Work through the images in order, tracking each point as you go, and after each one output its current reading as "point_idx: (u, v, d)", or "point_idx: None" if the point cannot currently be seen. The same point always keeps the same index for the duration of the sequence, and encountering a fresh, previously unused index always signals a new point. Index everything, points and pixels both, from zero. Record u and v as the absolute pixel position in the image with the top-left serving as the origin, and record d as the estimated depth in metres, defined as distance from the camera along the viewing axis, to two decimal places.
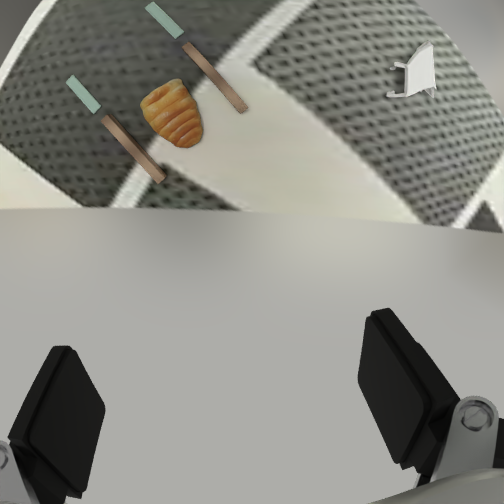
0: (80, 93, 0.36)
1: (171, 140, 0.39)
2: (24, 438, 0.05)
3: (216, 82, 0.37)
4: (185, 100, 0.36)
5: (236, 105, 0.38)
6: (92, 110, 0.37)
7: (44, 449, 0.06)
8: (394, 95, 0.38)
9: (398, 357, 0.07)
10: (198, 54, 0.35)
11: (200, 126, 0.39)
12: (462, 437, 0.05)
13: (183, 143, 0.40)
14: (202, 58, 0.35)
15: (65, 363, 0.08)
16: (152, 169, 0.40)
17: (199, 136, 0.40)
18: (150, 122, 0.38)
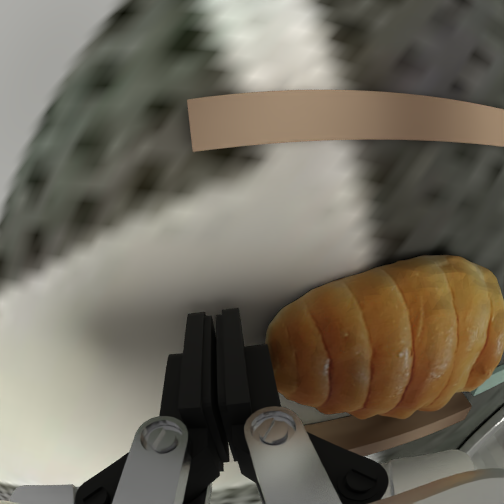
0: None
1: (345, 323, 0.09)
2: (201, 404, 0.06)
3: (359, 449, 0.12)
4: None
5: None
6: None
7: (213, 415, 0.07)
8: None
9: (218, 355, 0.08)
10: (434, 430, 0.13)
11: None
12: (270, 456, 0.05)
13: (304, 354, 0.09)
14: (421, 435, 0.13)
15: (210, 327, 0.09)
16: (282, 122, 0.07)
17: (283, 394, 0.11)
18: (448, 283, 0.09)
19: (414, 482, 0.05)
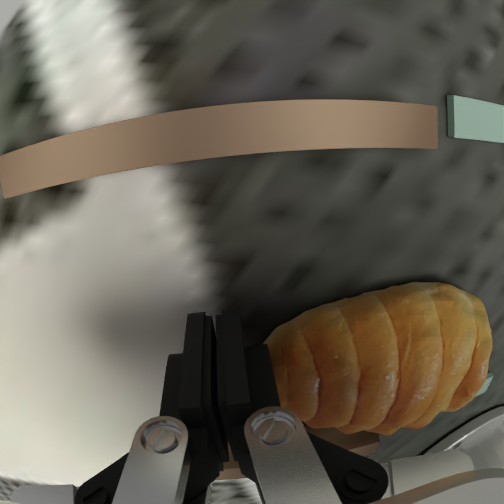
0: None
1: (336, 346, 0.10)
2: (200, 404, 0.06)
3: (239, 470, 0.12)
4: None
5: None
6: (462, 102, 0.08)
7: (213, 415, 0.07)
8: None
9: (218, 355, 0.08)
10: None
11: None
12: (270, 456, 0.05)
13: (295, 373, 0.10)
14: None
15: (210, 327, 0.09)
16: (56, 166, 0.07)
17: None
18: (436, 311, 0.10)
19: (414, 481, 0.05)
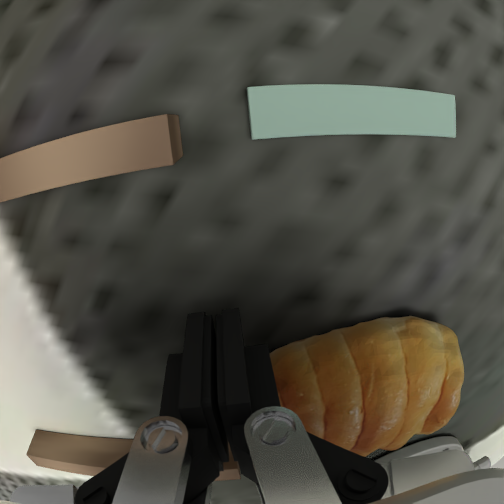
0: (377, 103, 0.08)
1: (301, 385, 0.10)
2: (200, 404, 0.06)
3: None
4: None
5: (43, 460, 0.12)
6: (263, 93, 0.08)
7: (213, 415, 0.07)
8: None
9: (218, 355, 0.08)
10: None
11: None
12: (270, 456, 0.05)
13: None
14: None
15: (210, 328, 0.09)
16: None
17: None
18: (402, 349, 0.10)
19: (414, 481, 0.05)
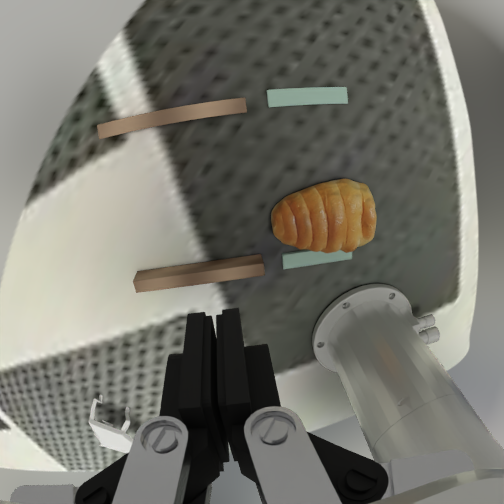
0: (312, 93, 0.25)
1: (297, 202, 0.27)
2: (200, 404, 0.06)
3: (187, 276, 0.29)
4: (338, 249, 0.28)
5: (145, 282, 0.28)
6: (272, 92, 0.24)
7: (213, 415, 0.07)
8: (93, 408, 0.34)
9: (218, 355, 0.08)
10: (239, 276, 0.29)
11: (292, 245, 0.29)
12: (270, 456, 0.05)
13: (285, 215, 0.27)
14: (230, 277, 0.29)
15: (210, 327, 0.09)
16: (121, 128, 0.23)
17: (280, 239, 0.29)
18: (337, 186, 0.27)
19: (414, 481, 0.05)
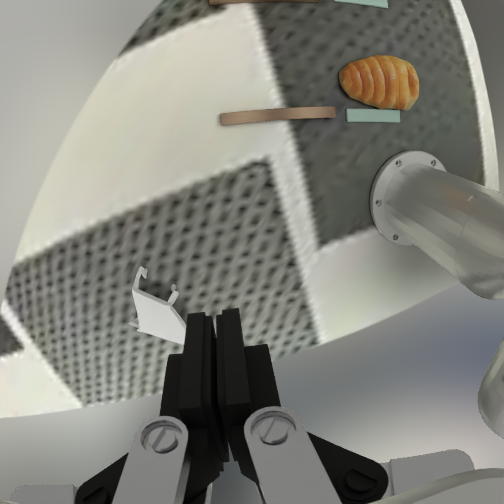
0: None
1: (360, 63, 0.29)
2: (200, 404, 0.06)
3: (271, 111, 0.31)
4: (393, 101, 0.30)
5: (232, 114, 0.31)
6: None
7: (213, 415, 0.07)
8: (138, 275, 0.36)
9: (219, 355, 0.08)
10: (315, 115, 0.31)
11: (357, 98, 0.31)
12: (270, 456, 0.05)
13: (352, 71, 0.30)
14: (308, 116, 0.31)
15: (210, 327, 0.09)
16: None
17: (348, 90, 0.31)
18: (388, 57, 0.29)
19: (415, 481, 0.05)
